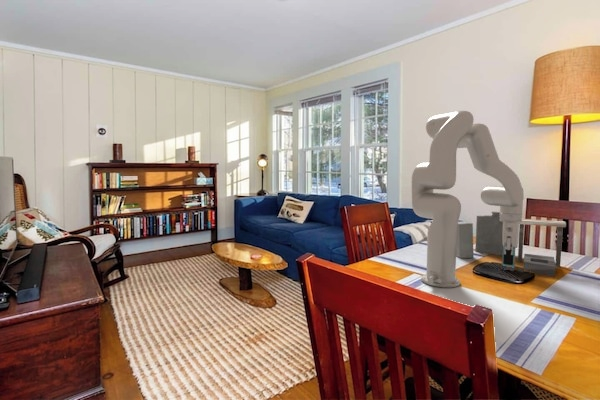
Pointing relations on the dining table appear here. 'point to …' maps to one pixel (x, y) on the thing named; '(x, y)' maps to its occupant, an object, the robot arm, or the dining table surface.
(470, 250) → the skincare box
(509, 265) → the peg
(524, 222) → the socket stand
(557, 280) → the dining table surface
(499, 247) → the hip flask
